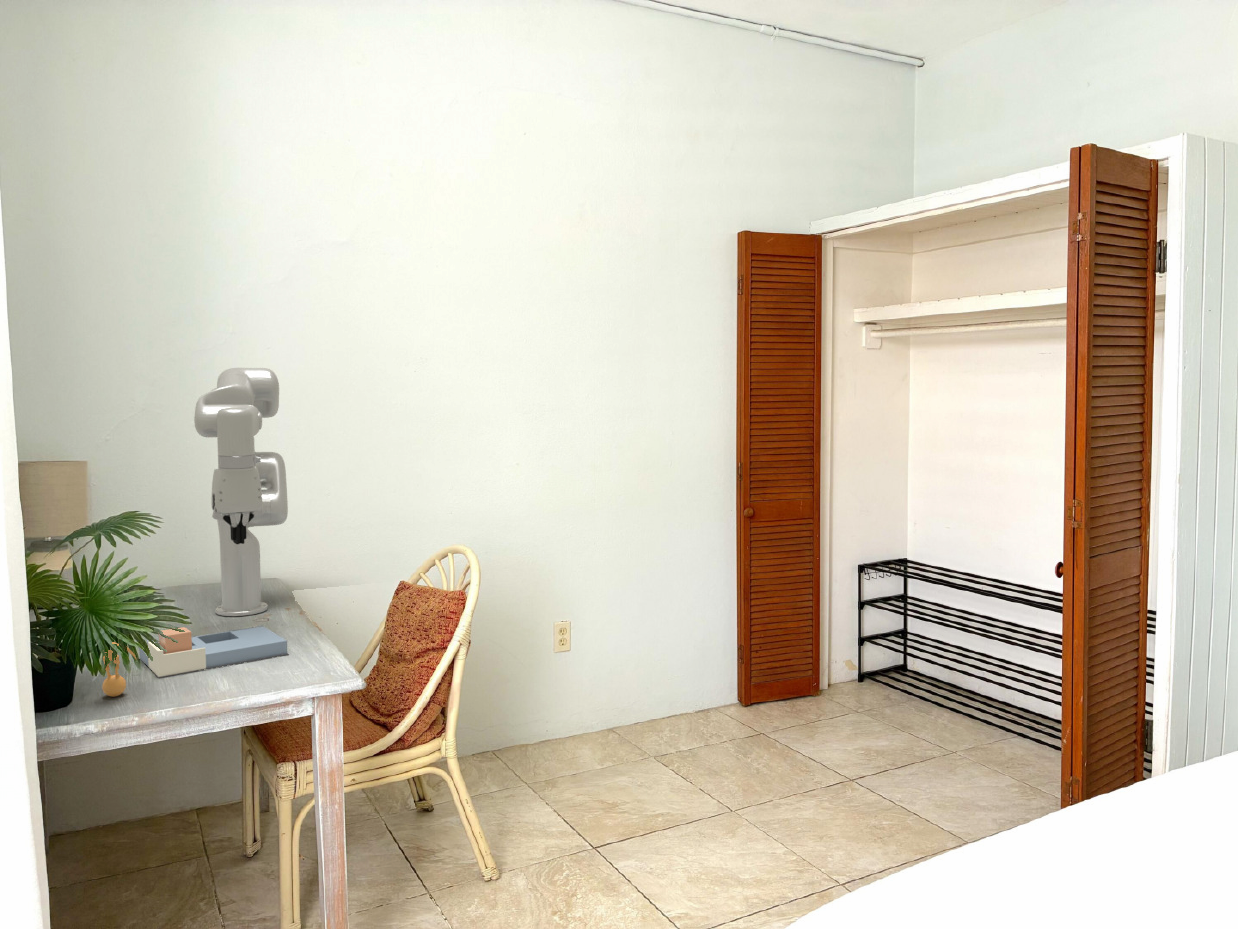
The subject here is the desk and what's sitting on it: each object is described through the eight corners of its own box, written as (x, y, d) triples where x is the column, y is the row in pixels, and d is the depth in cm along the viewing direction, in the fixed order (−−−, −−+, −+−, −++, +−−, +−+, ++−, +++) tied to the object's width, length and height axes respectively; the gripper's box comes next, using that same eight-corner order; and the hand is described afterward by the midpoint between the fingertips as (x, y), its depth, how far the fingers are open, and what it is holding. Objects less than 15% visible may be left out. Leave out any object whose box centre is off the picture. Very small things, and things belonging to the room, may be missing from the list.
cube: (159, 654, 190) (158, 631, 190) (185, 650, 194) (184, 627, 193) (165, 660, 187) (165, 636, 186) (192, 655, 190) (191, 632, 189)
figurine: (141, 690, 177) (138, 629, 176) (135, 700, 171) (132, 637, 170) (92, 694, 175) (89, 632, 174) (84, 705, 169) (82, 641, 168)
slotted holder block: (139, 658, 198) (138, 633, 197) (262, 638, 214) (261, 615, 214) (159, 678, 185) (158, 651, 184) (288, 655, 201) (288, 630, 201)
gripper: (265, 459, 214) (267, 536, 216) (196, 463, 205) (199, 543, 207) (275, 462, 208) (277, 542, 210) (205, 466, 199) (208, 550, 201)
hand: (238, 542), depth 209 cm, fingers closed
